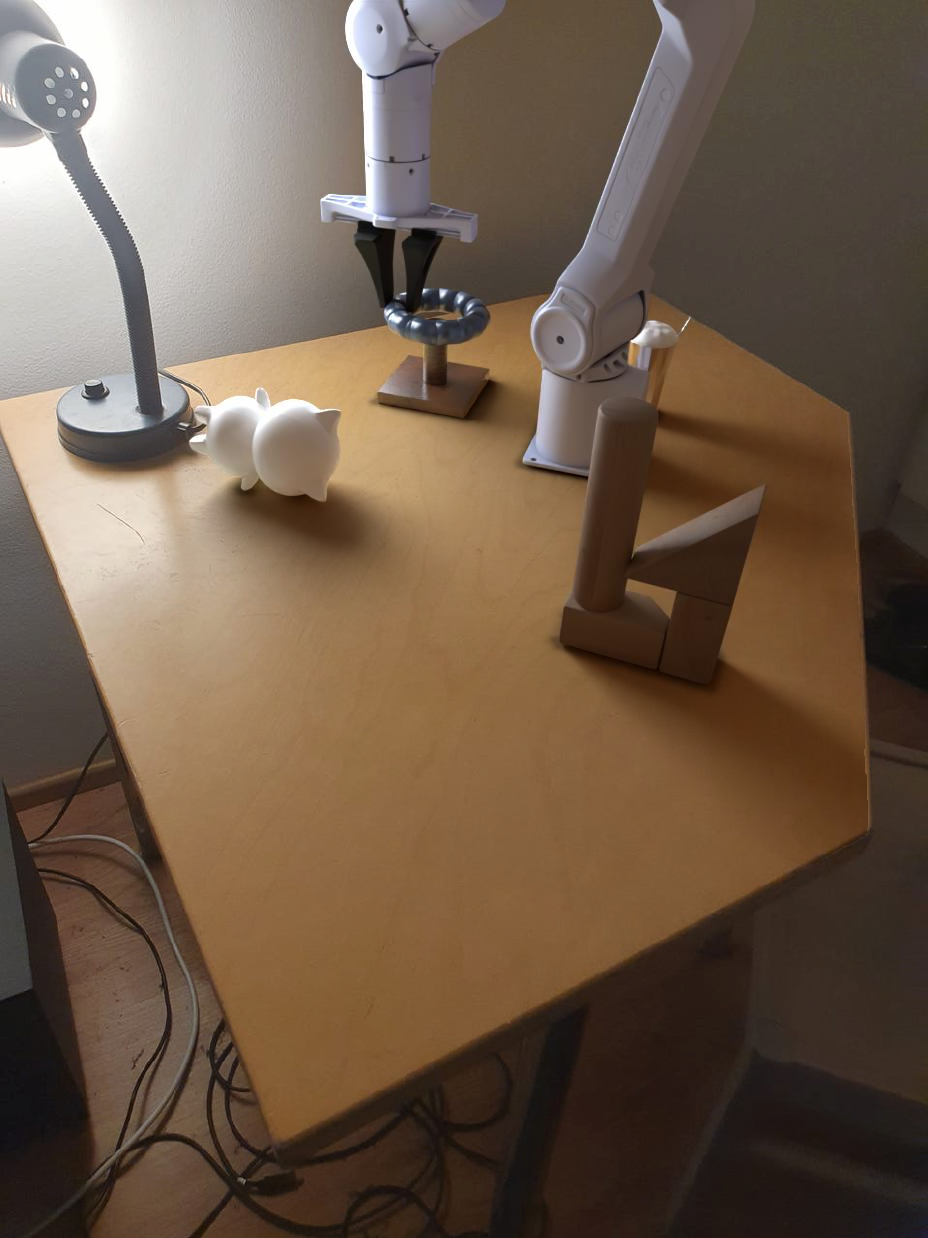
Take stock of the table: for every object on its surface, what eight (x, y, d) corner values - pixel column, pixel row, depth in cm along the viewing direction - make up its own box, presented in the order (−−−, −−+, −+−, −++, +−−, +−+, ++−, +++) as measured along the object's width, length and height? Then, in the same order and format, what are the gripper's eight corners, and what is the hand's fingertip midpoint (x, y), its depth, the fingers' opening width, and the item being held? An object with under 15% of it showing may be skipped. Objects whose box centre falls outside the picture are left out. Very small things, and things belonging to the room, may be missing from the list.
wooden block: (708, 688, 62) (777, 456, 50) (556, 645, 64) (588, 415, 53) (717, 654, 64) (785, 425, 53) (571, 614, 67) (604, 388, 55)
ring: (499, 315, 91) (501, 293, 90) (472, 355, 84) (473, 332, 82) (405, 300, 93) (405, 278, 92) (370, 338, 86) (369, 315, 84)
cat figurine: (191, 371, 74) (322, 396, 70) (260, 390, 84) (377, 413, 80) (175, 478, 75) (303, 508, 72) (244, 484, 85) (359, 511, 82)
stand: (489, 379, 95) (493, 312, 91) (463, 418, 89) (466, 348, 84) (408, 365, 97) (408, 298, 92) (377, 402, 91) (375, 333, 86)
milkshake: (674, 425, 89) (694, 326, 83) (619, 423, 89) (635, 324, 83) (667, 403, 93) (686, 306, 86) (614, 401, 93) (629, 304, 86)
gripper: (302, 155, 78) (313, 310, 87) (463, 176, 75) (458, 334, 84) (335, 136, 83) (342, 284, 92) (487, 154, 80) (480, 306, 89)
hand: (399, 306), depth 88 cm, fingers closed on ring, 2 cm apart
